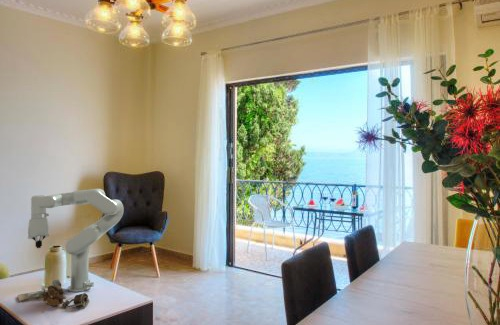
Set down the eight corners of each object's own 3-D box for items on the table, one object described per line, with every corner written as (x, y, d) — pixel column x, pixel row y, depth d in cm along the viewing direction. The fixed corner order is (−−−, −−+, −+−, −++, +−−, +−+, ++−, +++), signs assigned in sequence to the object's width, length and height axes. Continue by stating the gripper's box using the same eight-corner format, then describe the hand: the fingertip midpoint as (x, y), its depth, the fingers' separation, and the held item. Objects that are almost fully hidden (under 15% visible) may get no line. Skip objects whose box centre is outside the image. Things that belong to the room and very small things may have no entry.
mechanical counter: (77, 302, 176) (92, 291, 185) (58, 296, 181) (74, 285, 190) (78, 314, 178) (93, 303, 187) (59, 308, 183) (75, 297, 192)
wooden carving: (38, 304, 187) (38, 285, 187) (46, 301, 191) (46, 282, 191) (61, 309, 181) (61, 289, 181) (68, 305, 185) (69, 286, 185)
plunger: (43, 295, 195) (43, 287, 195) (41, 291, 201) (41, 283, 201) (45, 295, 196) (45, 287, 196) (43, 291, 202) (43, 283, 202)
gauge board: (19, 302, 189) (19, 291, 189) (17, 297, 197) (17, 286, 197) (61, 294, 201) (61, 284, 201) (58, 289, 209) (58, 279, 209)
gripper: (51, 214, 216) (51, 244, 216) (22, 217, 206) (22, 248, 206) (54, 216, 210) (54, 247, 210) (24, 218, 201) (24, 251, 201)
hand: (38, 247), depth 208 cm, fingers closed
